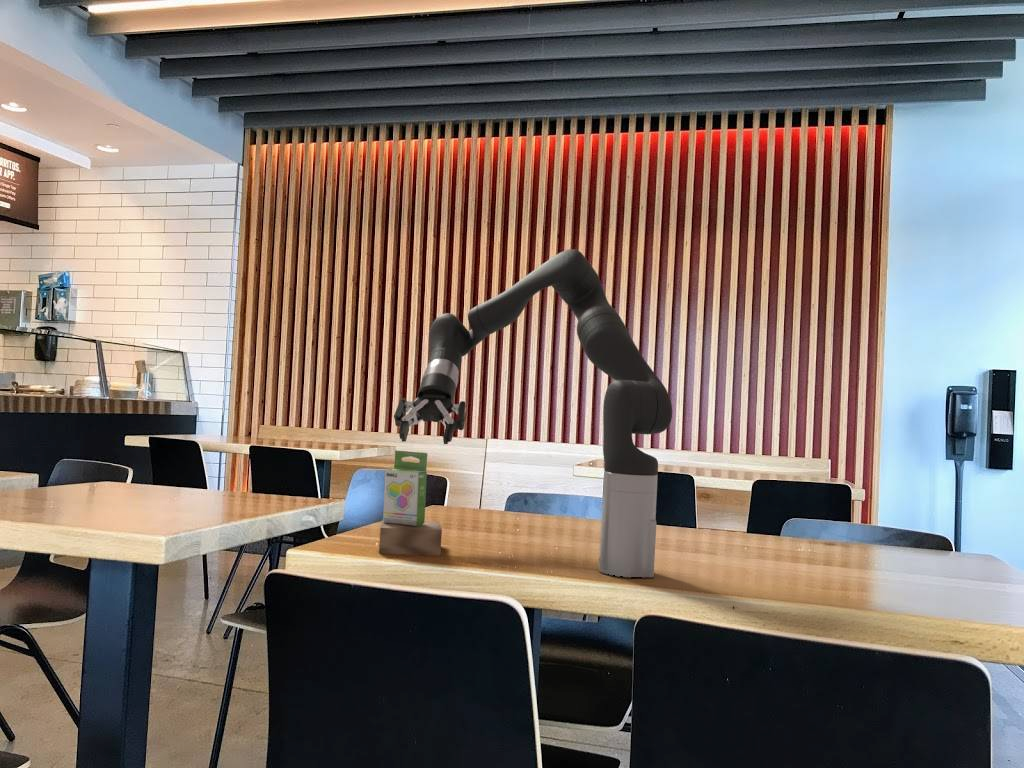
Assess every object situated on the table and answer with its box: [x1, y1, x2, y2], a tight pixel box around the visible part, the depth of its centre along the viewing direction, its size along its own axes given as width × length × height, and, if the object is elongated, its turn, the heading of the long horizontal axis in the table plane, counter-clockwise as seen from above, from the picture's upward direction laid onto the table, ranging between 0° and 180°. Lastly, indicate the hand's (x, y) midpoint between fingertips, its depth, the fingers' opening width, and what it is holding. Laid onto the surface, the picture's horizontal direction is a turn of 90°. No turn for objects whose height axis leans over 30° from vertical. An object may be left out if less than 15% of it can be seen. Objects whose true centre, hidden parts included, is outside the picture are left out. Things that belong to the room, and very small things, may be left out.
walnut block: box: [378, 518, 443, 557], centre depth 150 cm, size 11×11×5 cm
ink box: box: [382, 450, 428, 526], centre depth 151 cm, size 7×4×13 cm, turn 71°
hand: (423, 440), depth 160 cm, fingers open, 8 cm apart
